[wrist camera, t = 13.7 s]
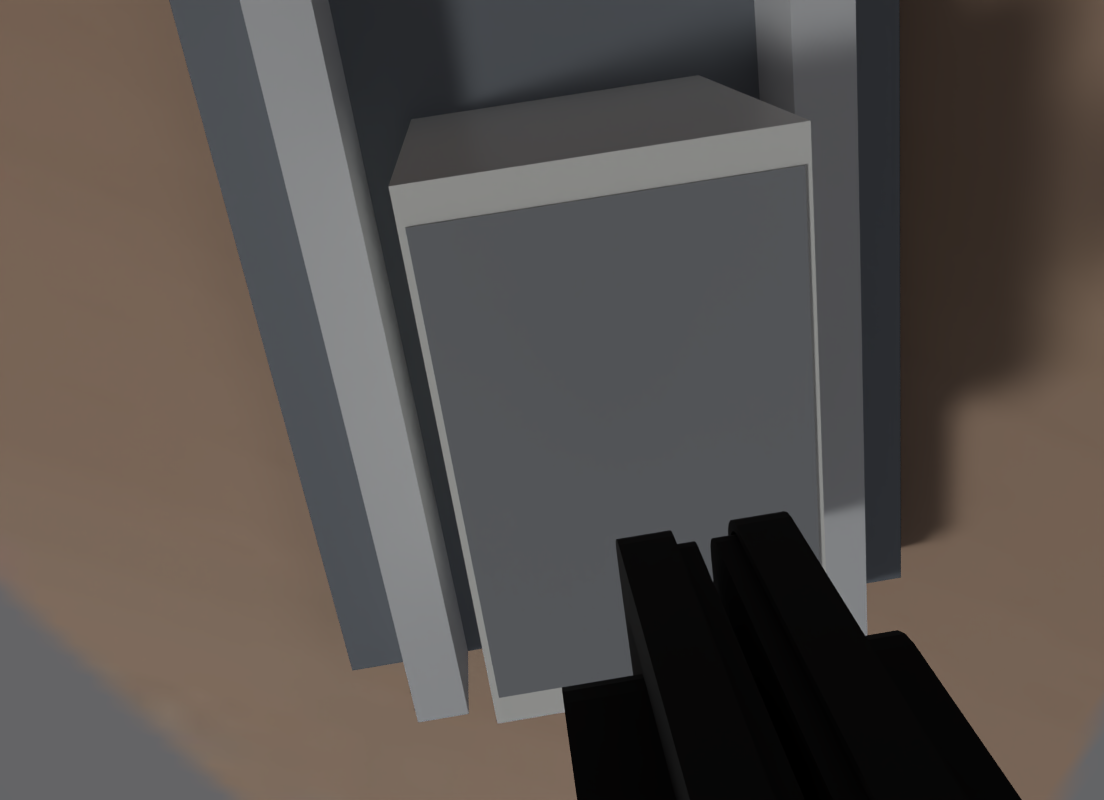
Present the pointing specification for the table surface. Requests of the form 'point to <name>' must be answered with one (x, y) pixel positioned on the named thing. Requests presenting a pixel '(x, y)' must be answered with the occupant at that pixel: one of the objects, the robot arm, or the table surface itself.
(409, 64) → the grey rail base plate
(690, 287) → the block
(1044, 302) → the table surface
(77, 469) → the table surface
